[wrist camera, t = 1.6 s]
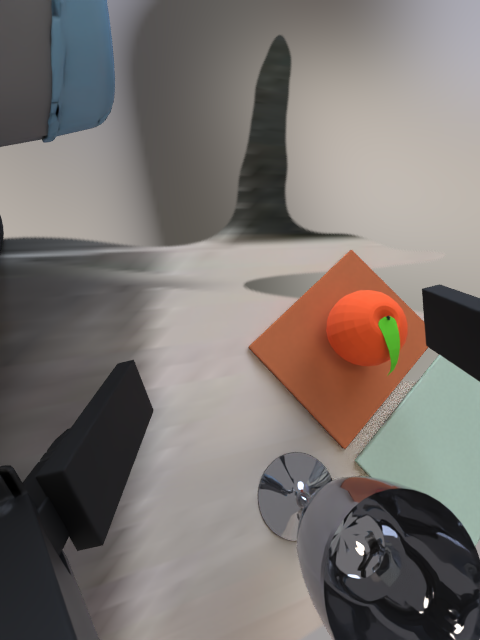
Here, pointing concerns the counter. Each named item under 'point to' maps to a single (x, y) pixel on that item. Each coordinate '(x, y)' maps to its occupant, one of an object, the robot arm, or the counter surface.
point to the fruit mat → (324, 363)
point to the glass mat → (434, 442)
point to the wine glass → (374, 553)
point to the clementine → (367, 328)
